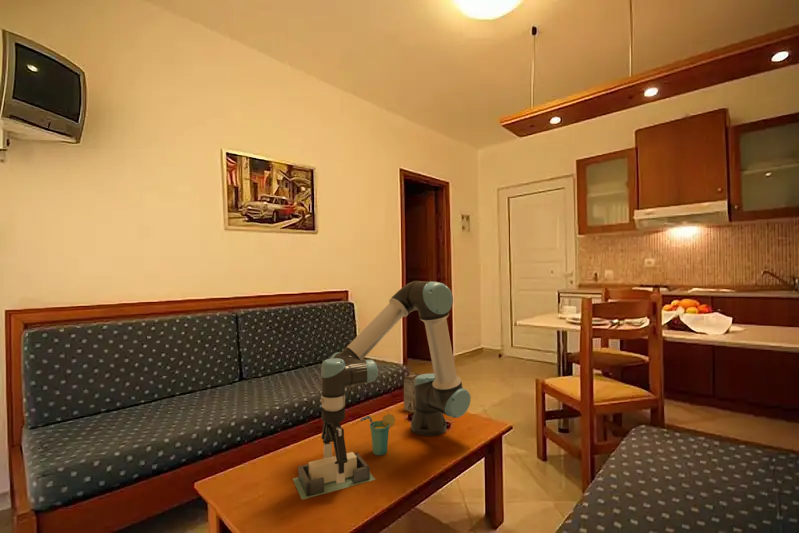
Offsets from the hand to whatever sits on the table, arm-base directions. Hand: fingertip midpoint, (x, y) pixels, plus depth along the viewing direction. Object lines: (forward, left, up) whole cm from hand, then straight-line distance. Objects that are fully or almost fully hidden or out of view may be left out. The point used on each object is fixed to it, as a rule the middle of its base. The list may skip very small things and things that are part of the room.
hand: (333, 472), depth 129 cm
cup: (-20, -10, -3) cm, 23 cm away
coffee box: (-54, -43, -3) cm, 69 cm away
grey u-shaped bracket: (-8, 0, -2) cm, 8 cm away
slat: (0, 0, -2) cm, 2 cm away
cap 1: (+8, 0, -2) cm, 8 cm away
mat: (0, 0, -3) cm, 3 cm away
